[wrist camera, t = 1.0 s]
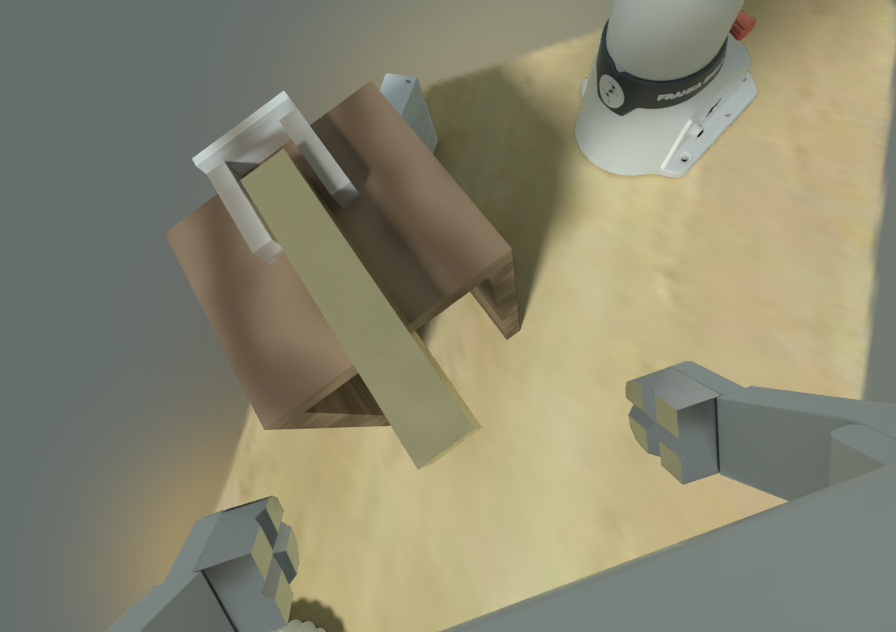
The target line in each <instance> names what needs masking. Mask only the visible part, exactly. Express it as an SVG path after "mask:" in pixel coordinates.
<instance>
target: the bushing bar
mask: <svg viewBox="0 0 896 632" xmlns="http://www.w3.org/2000/svg"><path fill="white" fill-rule="evenodd" d="M240 181H241V183H242V184H243V186H244V188H245V189H246V191H247V192H248V194H249V196H250V197H251V199H252V201H253V202H254V204H255V205H256V207H257V209H258V210H259V212H260V214H261V215H262V217H263V218H264V220H265V222H266V223H267V225H268V227H269V228H270V230H271V231H272V233H273V235H274V236H275V238H276V240H277V241H278V243H279V244H280V246H281V248H282V249H283V251H284V253H285V254H286V256H287V257H288V259H289V261H290V262H291V264H292V266H293V267H294V269H295V270H296V272H297V274H298V275H299V277H300V279H301V280H302V282H303V283H304V285H305V287H306V288H307V290H308V292H309V293H310V295H311V296H312V298H313V300H314V301H315V303H316V305H317V306H318V308H319V309H320V311H321V313H322V314H323V316H324V318H325V319H326V321H327V322H328V324H329V326H330V327H331V329H332V331H333V332H334V334H335V335H336V337H337V339H338V340H339V342H340V344H341V345H342V347H343V348H344V350H345V352H346V353H347V355H348V357H349V358H350V360H351V361H352V363H353V365H354V366H355V368H356V370H357V371H358V373H359V374H360V376H361V378H362V379H363V381H364V383H365V384H366V386H367V387H368V389H369V391H370V392H371V394H372V396H373V397H374V399H375V400H376V402H377V404H378V405H379V407H380V409H381V410H382V412H383V413H384V415H385V417H386V418H387V420H388V422H389V423H390V425H391V426H392V428H393V430H394V431H395V433H396V435H397V436H398V438H399V439H400V441H401V443H402V444H403V446H404V448H405V449H406V451H407V452H408V454H409V456H410V457H411V459H412V461H413V462H414V464H415V465H416V467H417V469H418V470H419V469H421V468H423V467H426V466H428V465H430V464H432V463H434V462H436V461H437V460H438V459H440V458H441V457H442V456H444V455H445V454H447V453H448V452H449V451H451V450H452V449H453V448H455V447H456V446H457V445H459V444H460V443H462V442H463V441H464V440H466V439H467V438H468V437H470V436H471V435H473V434H474V433H475V432H477V431H478V430H479V429H481V428H482V427H481V425H480V424H479V422H478V421H477V419H476V418H475V417H474V415H473V414H472V412H471V411H470V409H469V408H468V406H467V405H466V403H465V402H464V401H463V399H462V398H461V396H460V395H459V393H458V392H457V390H456V389H455V388H454V386H453V385H452V383H451V382H450V380H449V379H448V377H447V376H446V374H445V373H444V372H443V370H442V369H441V367H440V366H439V364H438V363H437V361H436V360H435V359H434V357H433V356H432V354H431V353H430V351H429V350H428V348H427V347H426V345H425V344H424V343H423V341H422V340H421V338H420V337H419V335H418V334H417V332H416V331H415V330H414V328H413V327H412V325H411V324H410V322H409V321H408V319H407V318H406V316H405V315H404V314H403V312H402V311H401V309H400V308H399V306H398V305H397V303H396V302H395V301H394V299H393V298H392V296H391V295H390V293H389V292H388V290H387V289H386V287H385V286H384V285H383V283H382V282H381V280H380V279H379V277H378V276H377V274H376V273H375V272H374V270H373V269H372V267H371V266H370V264H369V263H368V261H367V260H366V259H365V257H364V256H363V254H362V253H361V251H360V250H359V248H358V247H357V245H356V244H355V243H354V241H353V240H352V238H351V237H350V235H349V234H348V232H347V231H346V230H345V228H344V227H343V225H342V224H341V222H340V221H339V219H338V218H337V216H336V215H335V214H334V212H333V211H332V209H331V208H330V206H329V205H328V203H327V202H326V201H325V199H324V198H323V196H322V195H321V193H320V192H319V190H318V189H317V187H316V186H315V185H314V183H313V182H312V180H311V179H310V177H309V176H308V175H307V174H306V173H305V172H304V171H303V170H302V169H301V168H300V166H299V165H298V164H297V163H296V162H295V161H294V160H293V159H292V158H291V156H290V155H289V154H288V153H287V152H286V151H285V150H284V149H282V150H281V151H279V152H278V153H277V154H275V155H274V156H273V157H271V158H270V159H269V160H267V161H266V162H265V163H263V164H262V165H260V166H259V167H258V168H256V169H255V170H254V171H252V172H251V173H250V174H248V175H247V176H246V177H244V178H243V179H242V180H240Z"/></svg>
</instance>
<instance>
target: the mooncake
mask: <svg viewBox="0 0 896 632" xmlns="http://www.w3.org/2000/svg"><path fill="white" fill-rule="evenodd" d="M272 632H326V631H325V630H324V629H323V628H316V627H315V625H314V624H313V623H312V622H310V621H306V622H304V623H302V622H301V621H300V620H297V619H294V620H292V621H290V622H289V623H288V625H287V626H285V627H283V628H280V629H277V630H275V631H272Z"/></svg>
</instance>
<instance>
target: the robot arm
mask: <svg viewBox="0 0 896 632" xmlns="http://www.w3.org/2000/svg"><path fill="white" fill-rule="evenodd" d="M744 2H745V0H612V5H611V12H610V17H609V19H608V21H607V22H606V24H605V26H604V29H603V33H602V36H601V38H600V41H599V46H598V49H597V52H596V55H595V58H594V61H593V64H592V68H591V71H590V75H589V77H588V78H586V79H585V80H584V81H583V83H582V86H581V89H580V96H581V108H580V110H579V113H578V116H577V119H576V124H575V135H576V140H577V143H578V145H579V148H580V149H581V151H582V152H583V154H584V155H585V156H586V157H587V158H588V159H589V160H590V161H591V162H592V163H593V164H595V165H596V166H598V167H600V168H601V169H603V170H606V171H608V172H611V173H615V174H620V175H645V174H658V175H663V176H667V177H673V178H678V177H682V176H684V175H685V174H686V173H687V172H688V171H689V170H690V169H691V168H692V166H693V165H694V164H695V163H696V162H697V161H698V160H699V159H700V158H701V157H702V156H703V155H704V153H705V152H706V151H707V150H708V149H709V148H710V147H711V146H712V145H713V144H714V143H715V141H716V140H717V139H718V138H719V137H720V136H721V135H722V134H723V133H724V132H725V131H726V130H727V128H728V127H729V126H730V125H731V124H732V123H733V122H734V121H735V120H736V119H737V118H738V117H739V115H740V114H741V113H742V112H743V111H744V110H745V109H746V108H747V107H748V106H749V104H750V103H751V102H752V101H753V100H754V98H755V96H756V94H757V88H756V85H755V82H754V80H753V78H752V76H751V74H750V73H749V71H748V70H749V68H750V65H751V60H750V55H749V53H748V51H747V49H746V47H745V46H744V45H743V43H742V42H741V41H740V40H741V39H743V38H744V37H745V36H746V35H747V34H748V33H749V32H750V31H751V29H752V28H753V27H754V25H755V23H756V19H754V18H752V17H750V16H747V15H746V14H745V13H744V11H743V10H741V8H742V6H743V4H744ZM740 10H741V11H740ZM681 159H684V160H686V162H683V161H682V160H681ZM625 389H626V398H627V399H628V400H629V401H630V402H631V403H632V404H633V407H632V409H631V411H630V413H629V421H630V427H631V430H632V432H633V434H634V436H635V439H636V440H637V441H638V443H639V444H640V446H641V447H642V448H643V449H644V450H645V451H646V452H647V453H649V454H652V455H656V456H659V457H661V465H662V466H663V467H664V468H665V469H666V470H667V471H668V472H669V473H670V474H672V475H673V476H674V477H675V478H676V479H677V480H678V481H679V482H680V483H682V484H687V483H690V482H693V481H696V480H699V479H702V478H705V477H708V476H711V475H714V474H718V473H720V475H723V476H725V477H728V478H730V479H733V480H735V481H738V482H741V483H743V484H746V485H748V486H751V487H754V488H756V489H759V490H761V491H764V492H767V493H769V494H772V495H774V496H777V497H779V498H782V499H785V500H787V501H789V502H786V503H784V504H781V505H778V506H776V507H773V508H770V509H768V510H765V511H762V512H760V513H757V514H754V515H752V516H749V517H746V518H744V519H741V520H738V521H735V522H733V523H730V524H727V525H725V526H722V527H719V528H717V529H714V530H711V531H708V532H706V533H703V534H700V535H698V536H695V537H692V538H689V539H687V540H684V541H681V542H679V543H676V544H673V545H671V546H668V547H665V548H662V549H660V550H657V551H654V552H652V553H649V554H646V555H644V556H641V557H638V558H635V559H633V560H630V561H627V562H625V563H622V564H619V565H617V566H614V567H611V568H608V569H606V570H603V571H600V572H598V573H595V574H592V575H590V576H587V577H584V578H581V579H579V580H576V581H573V582H571V583H568V584H565V585H563V586H560V587H557V588H555V589H552V590H549V591H547V592H544V593H541V594H539V595H536V596H533V597H531V598H528V599H525V600H523V601H520V602H517V603H515V604H512V605H509V606H507V607H504V608H501V609H499V610H496V611H493V612H490V613H488V614H485V615H482V616H480V617H477V618H474V619H472V620H469V621H466V622H464V623H461V624H458V625H456V626H453V627H450V628H448V629H445V630H442V631H440V632H896V405H892V404H885V403H876V402H869V401H862V400H854V399H847V398H839V397H831V396H824V395H816V394H809V393H801V392H793V391H786V390H778V389H771V388H763V387H755V386H750V387H747V388H744V387H742V386H740V385H738V384H736V383H734V382H732V381H730V380H728V379H726V378H724V377H722V376H720V375H718V374H716V373H714V372H712V371H710V370H708V369H706V368H704V367H702V366H700V365H698V364H696V363H694V362H692V361H684V362H681V363H678V364H675V365H673V366H670V367H667V368H665V369H662V370H659V371H657V372H654V373H651V374H648V375H645V376H642V377H639V378H636V379H633V380H631V381H628V382H627V383H626V388H625ZM283 512H284V510H283V508H282V506H281V504H280V502H279V500H278V498H276V497H274V496H269V497H266V498H263V499H259V500H256V501H253V502H249V503H246V504H243V505H239V506H236V507H233V508H229V509H226V510H222V511H219V512H216V513H213V514H210V515H207V516H205V517H202V518H200V519H199V520H197V521H196V522H195V524H194V526H193V528H192V530H191V532H190V534H189V535H188V537H187V539H186V541H185V543H184V545H183V547H182V549H181V551H180V552H179V554H178V556H177V558H176V560H175V562H174V564H173V566H172V568H171V569H170V571H169V573H168V575H167V577H166V579H165V581H164V583H163V584H160V585H157V586H154V587H153V588H152V589H151V590H150V591H149V592H148V593H147V594H146V595H144V596H143V597H142V598H141V599H140V600H139V601H138V602H137V603H136V604H135V605H134V606H132V607H131V608H130V609H129V610H128V611H127V612H126V613H125V614H124V615H123V616H121V617H120V618H119V619H118V620H117V621H116V622H115V623H114V624H113V625H112V626H110V627H109V628H108V629H107V630H106V631H105V632H272V631H275V630H277V629H280V628H283V627H285V626H287V625H288V620H289V614H290V609H291V604H292V598H293V592H292V590H291V588H290V586H289V584H290V583H291V581H292V580H293V579H294V578H295V576H296V575H297V571H298V565H299V554H298V545H297V541H296V537H295V534H294V532H293V530H292V528H291V527H290V526H289V525H287V524H285V523H283V522H281V520H282V516H283Z"/></svg>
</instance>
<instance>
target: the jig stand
mask: <svg viewBox="0 0 896 632" xmlns="http://www.w3.org/2000/svg"><path fill="white" fill-rule="evenodd" d="M282 149H284V150H285V151H286V152H287V153H288V154H289V155H290V156H291V158H292V159H293V160H294V161H295V162H296V163H297V164H298V165H299V166H300V168H301V169H302V170H303V171H304V172H305V173H306V174H307V175H308V176H309V177H310V179H311V180H312V182H313V183H314V185H315V186H316V187H317V189H318V190H319V192H320V193H321V195H322V196H323V198H324V199H325V201H326V202H327V203H328V205H329V206H330V208H331V209H332V211H333V212H334V214H335V215H336V216H337V218H338V219H339V221H340V222H341V224H342V225H343V227H344V228H345V230H346V231H347V232H348V234H349V235H350V237H351V238H352V240H353V241H354V243H355V244H356V245H357V247H358V248H359V250H360V251H361V253H362V254H363V256H364V257H365V259H366V260H367V261H368V263H369V264H370V266H371V267H372V269H373V270H374V272H375V273H376V274H377V276H378V277H379V279H380V280H381V282H382V283H383V285H384V286H385V287H386V289H387V290H388V292H389V293H390V295H391V296H392V298H393V299H394V301H395V302H396V303H397V305H398V306H399V308H400V309H401V311H402V312H403V314H404V315H405V316H406V318H407V319H408V321H409V322H410V324H411V325H412V327H413V328H414V330H415V331H416V330H418V329H419V328H420V327H422V326H423V325H424V324H426V323H427V322H429V321H430V320H431V319H433V318H434V317H435V316H437V315H438V314H439V313H441V312H442V311H444V310H445V309H446V308H448V307H449V306H450V305H452V304H453V303H454V302H456V301H457V300H459V299H460V298H461V297H463V296H464V295H465V294H467V293H468V292H469V291H470V292H471V293H472V295H473V296H474V297H475V299H476V300H477V301H478V303H479V304H480V305H481V307H482V308H483V309H484V310H485V312H486V313H487V314H488V316H489V317H490V318H491V320H492V321H493V322H494V323H495V325H496V326H497V327H498V329H499V330H500V331H501V333H502V334H503V335H504V337H505V338H506V339H507V340H508V339H509V338H510V337H512V336H513V335H514V334H516V333H517V332H519V331H520V324H519V314H518V304H517V294H516V284H515V275H514V265H513V255H512V248H511V247H510V246H509V244H508V243H507V242H506V241H505V240H504V238H503V237H502V236H501V235H500V234H499V232H498V231H497V230H496V229H495V228H494V227H493V225H492V224H491V223H490V222H489V221H488V219H487V218H486V217H485V216H484V215H483V213H482V212H481V211H480V210H479V209H478V207H477V206H476V205H475V204H474V203H473V201H472V200H471V199H470V198H469V197H468V196H467V194H466V193H465V192H464V191H463V190H462V188H461V187H460V186H459V185H458V184H457V182H456V181H455V180H454V179H453V178H452V176H451V175H450V174H449V173H448V172H447V170H446V169H445V168H444V167H443V166H442V165H441V163H440V162H439V161H438V160H437V159H436V157H435V156H434V155H433V154H432V153H431V151H430V150H429V149H428V148H427V147H426V145H425V144H424V143H423V142H422V141H421V140H420V138H419V137H418V136H417V135H416V134H415V132H414V131H413V130H412V129H411V128H410V126H409V125H408V124H407V123H406V122H405V120H404V119H403V118H402V117H401V116H400V114H399V113H398V112H397V111H396V110H395V109H394V107H393V106H392V105H391V104H390V103H389V101H388V100H387V99H386V98H385V97H384V95H383V94H382V93H381V92H380V91H379V90H378V88H377V87H376V86H375V85H374V84H373V82H372V81H370V82H368V83H367V84H366V85H364V86H363V87H361V88H360V89H359V90H357V91H356V92H355V93H354V94H352V95H351V96H349V97H348V98H347V99H345V100H344V101H343V102H341V103H340V104H339V105H337V106H336V107H334V108H333V109H332V110H330V111H329V112H328V113H326V114H325V115H324V116H323V117H321V118H320V119H318V120H317V121H316V122H314V123H313V124H311V125H309V124H308V123H307V121H306V120H305V118H304V117H303V116H302V114H301V113H300V112H299V111H298V109H297V108H296V106H295V105H294V104H293V102H292V101H291V100H290V98H289V97H288V96H287V94H286V93H285V91H283V92H282V93H280V94H279V95H277V96H276V97H275V98H273V99H272V100H271V101H269V102H268V103H267V104H265V105H264V106H263V107H261V108H260V109H259V110H257V111H256V112H255V113H253V114H252V115H250V116H249V117H248V118H246V119H245V120H244V121H242V122H241V123H240V124H238V125H237V126H236V127H234V128H233V129H232V130H231V131H229V132H228V133H226V134H225V135H223V136H222V137H221V138H219V139H218V140H217V141H216V142H214V143H213V144H211V145H210V146H209V147H207V148H206V149H205V150H203V151H202V152H201V153H199V154H198V155H197V156H195V157H194V158H192V160H193V161H194V163H195V165H196V166H197V167H198V168H199V169H201V170H202V171H203V172H204V173H206V174H207V176H208V178H209V179H210V181H211V183H212V184H213V186H214V188H215V189H216V191H217V193H218V194H217V195H216V196H214V197H213V198H211V199H210V200H209V201H207V202H206V203H205V204H203V205H202V206H201V207H199V208H198V209H197V210H195V211H194V212H192V213H191V214H190V215H189V216H187V217H186V218H184V219H183V220H182V221H180V222H179V223H178V224H176V225H175V226H174V227H172V228H171V229H169V230H168V231H167V232H166V233H165V235H166V237H167V239H168V241H169V243H170V245H171V247H172V249H173V251H174V253H175V255H176V257H177V259H178V261H179V263H180V265H181V267H182V269H183V271H184V273H185V275H186V277H187V279H188V281H189V283H190V285H191V287H192V289H193V291H194V293H195V294H196V296H197V298H198V300H199V302H200V304H201V306H202V308H203V310H204V312H205V314H206V316H207V318H208V320H209V322H210V324H211V326H212V328H213V330H214V332H215V334H216V336H217V338H218V340H219V342H220V344H221V346H222V348H223V349H224V351H225V353H226V355H227V357H228V359H229V361H230V363H231V365H232V367H233V369H234V371H235V373H236V375H237V377H238V379H239V381H240V383H241V385H242V387H243V389H244V391H245V393H246V395H247V397H248V399H249V401H250V403H251V405H252V407H253V409H254V410H255V412H256V414H257V416H258V418H259V420H260V422H261V424H262V426H263V428H264V430H276V429H307V428H338V427H369V426H390V423H389V422H388V420H387V418H386V417H385V415H384V413H383V412H382V410H381V409H380V407H379V405H378V404H377V402H376V400H375V399H374V397H373V396H372V394H371V392H370V391H369V389H368V387H367V386H366V384H365V383H364V381H363V379H362V378H361V376H360V374H359V373H358V371H357V370H356V368H355V366H354V365H353V363H352V361H351V360H350V358H349V357H348V355H347V353H346V352H345V350H344V348H343V347H342V345H341V344H340V342H339V340H338V339H337V337H336V335H335V334H334V332H333V331H332V329H331V327H330V326H329V324H328V322H327V321H326V319H325V318H324V316H323V314H322V313H321V311H320V309H319V308H318V306H317V305H316V303H315V301H314V300H313V298H312V296H311V295H310V293H309V292H308V290H307V288H306V287H305V285H304V283H303V282H302V280H301V279H300V277H299V275H298V274H297V272H296V270H295V269H294V267H293V266H292V264H291V262H290V261H289V259H288V257H287V256H286V254H285V253H284V251H283V249H282V248H281V246H280V244H279V243H278V241H277V240H276V238H275V236H274V235H273V233H272V231H271V230H270V228H269V227H268V225H267V223H266V222H265V220H264V218H263V217H262V215H261V214H260V212H259V210H258V209H257V207H256V205H255V204H254V202H253V201H252V199H251V197H250V196H249V194H248V192H247V191H246V189H245V188H244V186H243V184H242V183H241V181H240V180H242V179H243V178H244V177H246V176H247V175H248V174H250V173H251V172H252V171H254V170H255V169H256V168H258V167H259V166H260V165H262V164H263V163H265V162H266V161H267V160H269V159H270V158H271V157H273V156H274V155H275V154H277V153H278V152H279V151H281V150H282Z"/></svg>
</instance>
